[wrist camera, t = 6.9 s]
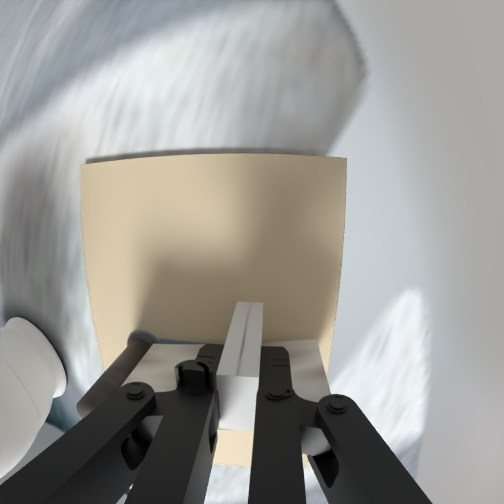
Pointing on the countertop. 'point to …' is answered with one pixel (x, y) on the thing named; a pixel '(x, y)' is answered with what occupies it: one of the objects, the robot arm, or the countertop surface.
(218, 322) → the card
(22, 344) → the jar
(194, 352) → the fence flap
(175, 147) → the countertop surface
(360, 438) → the robot arm
